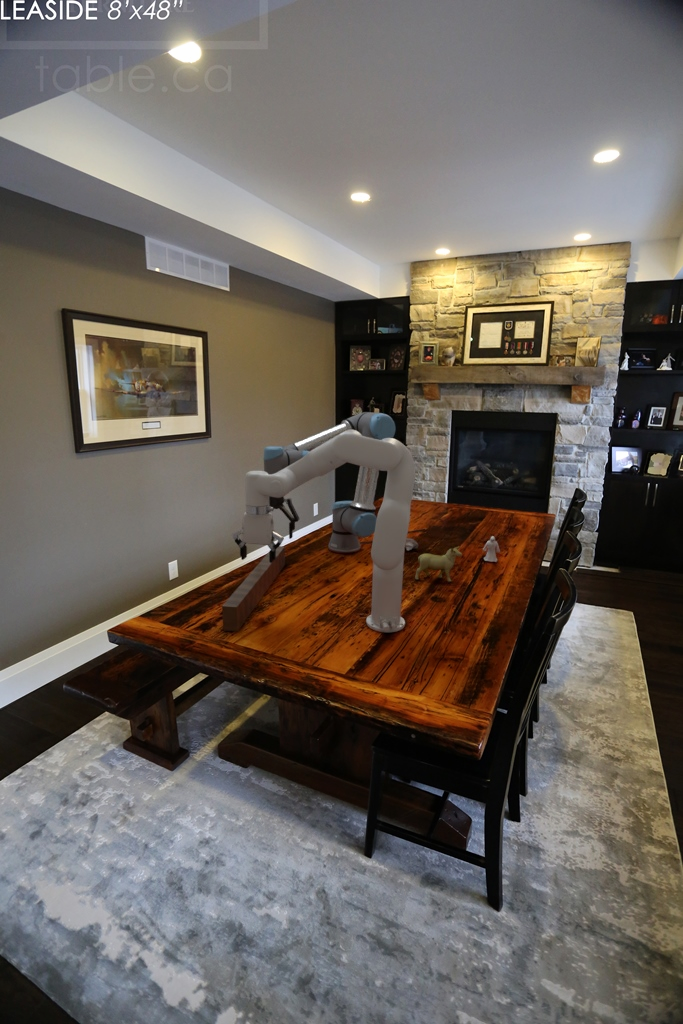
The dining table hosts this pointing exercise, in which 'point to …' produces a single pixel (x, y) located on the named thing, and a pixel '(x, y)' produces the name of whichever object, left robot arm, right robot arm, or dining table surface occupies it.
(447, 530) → the dining table surface
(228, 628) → the bar
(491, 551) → the figurine
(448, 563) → the toy
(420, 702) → the dining table surface
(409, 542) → the seashell
